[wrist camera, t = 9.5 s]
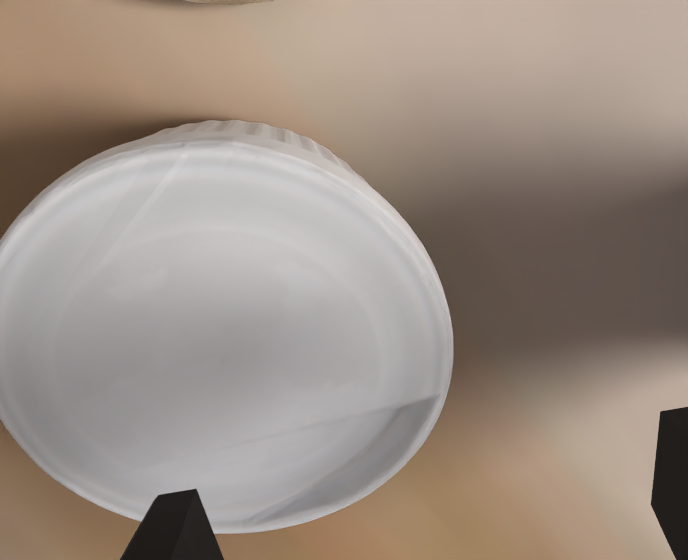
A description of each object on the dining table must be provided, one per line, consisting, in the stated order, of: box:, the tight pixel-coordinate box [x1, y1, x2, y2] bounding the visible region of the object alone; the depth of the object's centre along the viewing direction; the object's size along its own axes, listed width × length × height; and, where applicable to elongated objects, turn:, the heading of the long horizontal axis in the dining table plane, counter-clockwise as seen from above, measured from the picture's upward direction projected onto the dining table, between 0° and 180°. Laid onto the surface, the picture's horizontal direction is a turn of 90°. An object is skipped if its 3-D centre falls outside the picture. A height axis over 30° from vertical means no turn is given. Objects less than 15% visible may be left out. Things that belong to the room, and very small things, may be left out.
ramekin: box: [0, 120, 454, 534], centre depth 18 cm, size 11×11×5 cm
